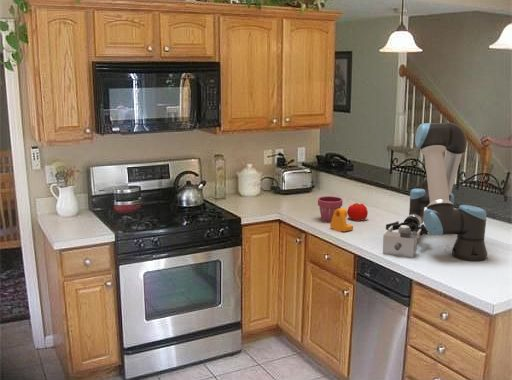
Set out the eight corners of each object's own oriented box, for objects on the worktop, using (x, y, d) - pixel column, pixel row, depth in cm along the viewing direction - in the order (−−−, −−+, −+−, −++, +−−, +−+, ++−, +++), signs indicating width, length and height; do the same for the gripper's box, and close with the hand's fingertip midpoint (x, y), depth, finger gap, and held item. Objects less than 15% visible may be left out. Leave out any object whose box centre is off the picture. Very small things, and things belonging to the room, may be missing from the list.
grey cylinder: (411, 248, 256) (413, 226, 254) (405, 250, 253) (406, 228, 250) (401, 245, 260) (402, 224, 258) (395, 248, 257) (396, 226, 254)
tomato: (350, 216, 316) (350, 201, 314) (370, 218, 311) (370, 203, 309) (344, 220, 307) (344, 205, 305) (364, 223, 302) (365, 207, 300)
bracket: (353, 230, 287) (354, 209, 284) (344, 233, 282) (345, 211, 280) (339, 226, 295) (340, 205, 293) (330, 228, 291) (330, 207, 288)
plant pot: (339, 224, 299) (340, 202, 296) (315, 222, 303) (315, 200, 301) (343, 218, 312) (344, 197, 309) (320, 216, 316) (320, 195, 314)
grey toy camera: (420, 247, 258) (421, 225, 255) (412, 259, 241) (413, 235, 238) (391, 243, 264) (392, 222, 262) (381, 254, 247) (382, 232, 245)
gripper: (437, 233, 265) (429, 244, 247) (387, 227, 277) (376, 237, 258) (438, 218, 264) (430, 229, 245) (388, 213, 275) (377, 222, 257)
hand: (403, 233), depth 252 cm, fingers open, 13 cm apart
